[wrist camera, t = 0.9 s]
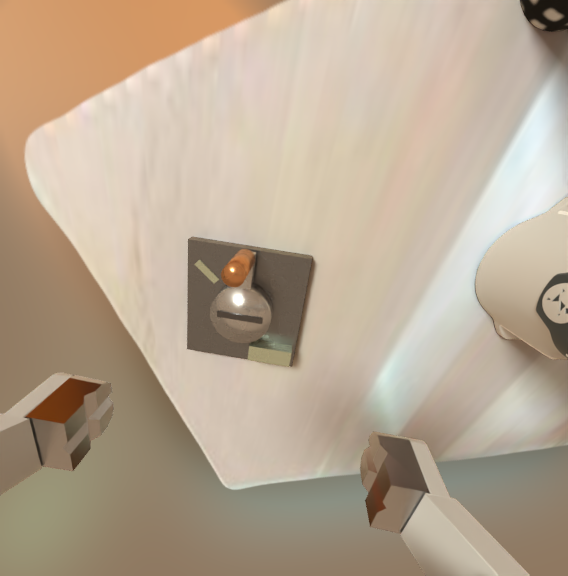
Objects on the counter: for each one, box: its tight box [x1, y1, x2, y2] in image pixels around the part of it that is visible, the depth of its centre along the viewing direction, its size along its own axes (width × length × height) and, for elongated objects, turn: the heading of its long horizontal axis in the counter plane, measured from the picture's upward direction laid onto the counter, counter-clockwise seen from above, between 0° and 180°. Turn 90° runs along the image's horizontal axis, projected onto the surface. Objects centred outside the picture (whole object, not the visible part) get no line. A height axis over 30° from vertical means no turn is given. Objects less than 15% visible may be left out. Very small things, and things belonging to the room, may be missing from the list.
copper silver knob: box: [210, 249, 273, 343], centre depth 34 cm, size 8×13×8 cm, turn 172°
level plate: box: [187, 237, 312, 367], centre depth 39 cm, size 16×17×3 cm
